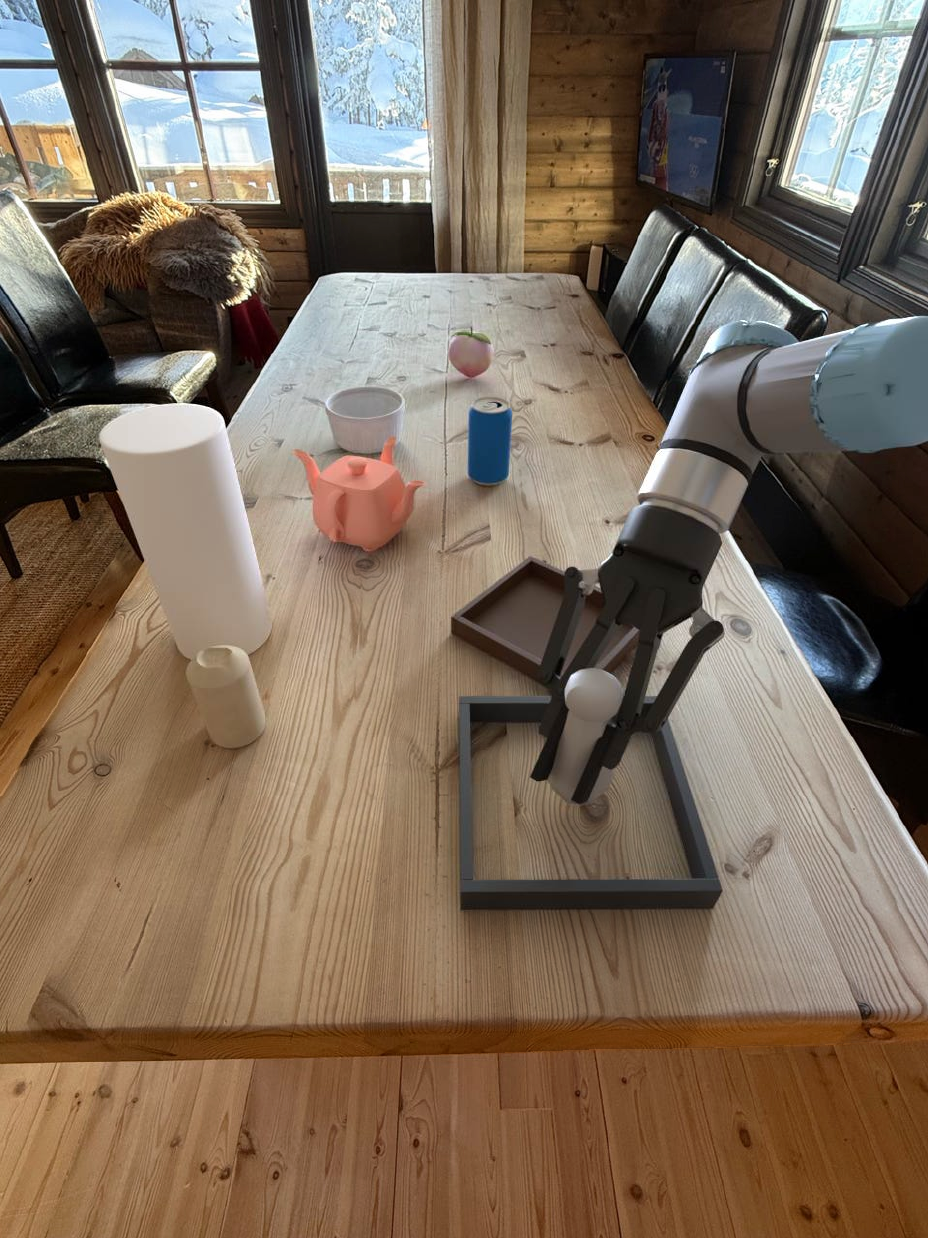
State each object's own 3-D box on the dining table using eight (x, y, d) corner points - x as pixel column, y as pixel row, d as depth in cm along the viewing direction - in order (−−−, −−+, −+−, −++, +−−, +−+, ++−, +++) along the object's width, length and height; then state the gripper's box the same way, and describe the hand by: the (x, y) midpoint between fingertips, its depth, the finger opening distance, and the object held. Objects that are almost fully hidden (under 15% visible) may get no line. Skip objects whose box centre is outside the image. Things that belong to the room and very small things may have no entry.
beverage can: (516, 477, 104) (522, 404, 96) (489, 492, 101) (492, 417, 93) (486, 463, 107) (489, 391, 100) (459, 477, 104) (459, 404, 96)
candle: (267, 703, 68) (248, 631, 61) (265, 745, 64) (243, 672, 57) (212, 709, 67) (186, 637, 60) (205, 752, 63) (177, 680, 56)
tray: (651, 630, 77) (655, 613, 75) (580, 707, 68) (584, 689, 66) (528, 571, 85) (529, 555, 84) (450, 633, 76) (450, 616, 75)
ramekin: (413, 453, 110) (411, 413, 105) (333, 462, 107) (328, 421, 103) (399, 420, 120) (397, 382, 115) (326, 427, 117) (321, 389, 113)
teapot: (303, 515, 95) (291, 444, 88) (399, 499, 99) (395, 430, 92) (322, 572, 85) (311, 497, 78) (428, 551, 89) (426, 478, 81)
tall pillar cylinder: (290, 632, 76) (245, 427, 60) (204, 678, 70) (129, 466, 54) (242, 590, 82) (189, 393, 65) (159, 630, 76) (79, 425, 60)
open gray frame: (654, 715, 67) (661, 695, 65) (713, 909, 52) (723, 891, 50) (459, 715, 67) (459, 695, 65) (460, 910, 52) (460, 892, 50)
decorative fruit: (499, 374, 137) (502, 323, 131) (484, 387, 132) (486, 336, 125) (458, 367, 140) (459, 317, 134) (442, 380, 135) (441, 329, 128)
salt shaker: (556, 749, 61) (572, 646, 52) (616, 772, 59) (643, 669, 50) (532, 798, 56) (546, 695, 48) (597, 824, 55) (622, 721, 46)
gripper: (780, 565, 52) (659, 834, 53) (596, 505, 59) (490, 743, 59) (784, 539, 45) (646, 849, 46) (576, 475, 52) (457, 744, 53)
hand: (558, 789), depth 53 cm, fingers closed on salt shaker, 3 cm apart
